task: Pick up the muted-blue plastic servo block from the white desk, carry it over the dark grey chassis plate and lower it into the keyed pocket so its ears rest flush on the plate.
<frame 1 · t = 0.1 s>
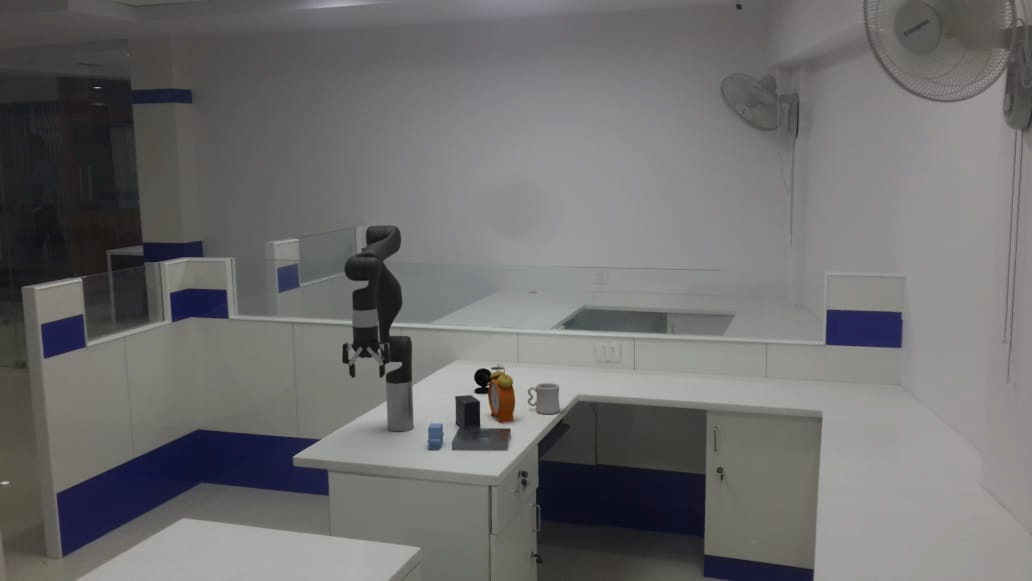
hand: (367, 377, 259), 29 cm above the table, fingers open, 8 cm apart
black desk fan: (483, 392, 357), on the table
servo: (435, 446, 286), on the table
alarm clock: (501, 418, 317), on the table
mug: (543, 411, 326), on the table
chassis plate: (482, 442, 289), on the table
small box: (468, 427, 307), on the table
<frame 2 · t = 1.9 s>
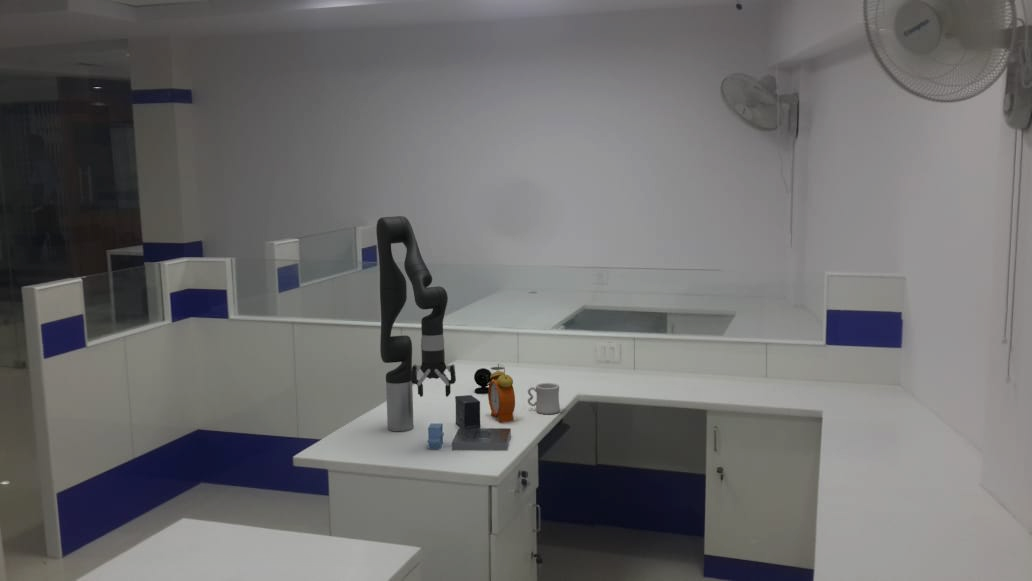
hand: (434, 396, 284), 17 cm above the table, fingers open, 8 cm apart
nothing on the table moved.
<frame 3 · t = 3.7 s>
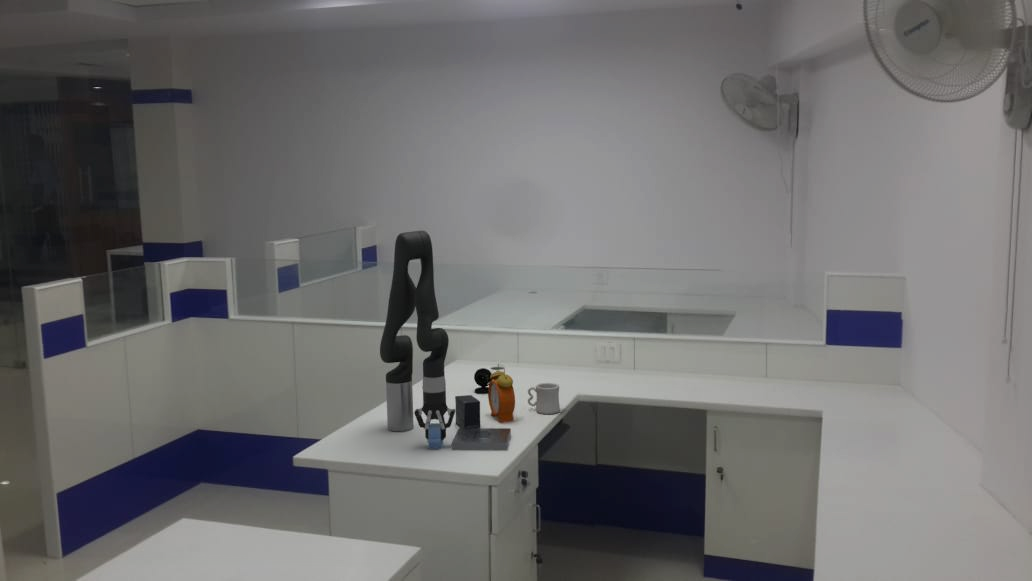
hand: (435, 439, 286), 2 cm above the table, fingers closed on servo, 4 cm apart
servo: (436, 445, 286), on the table, touching gripper
everything else where it was.
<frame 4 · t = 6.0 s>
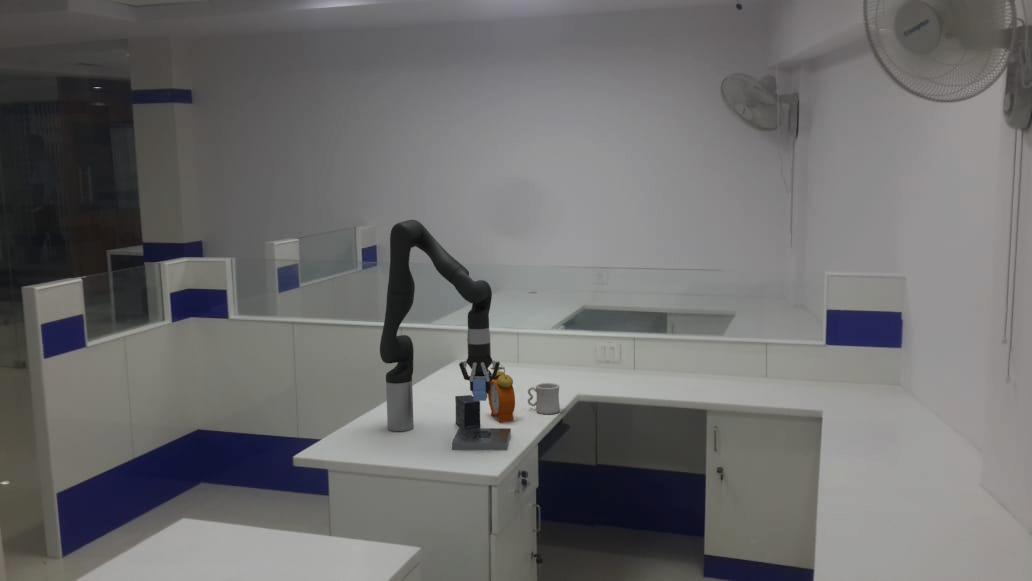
hand: (480, 391, 286), 18 cm above the table, fingers closed on servo, 4 cm apart
servo: (480, 398, 286), point 15 cm above the table, touching gripper
everything else where it was.
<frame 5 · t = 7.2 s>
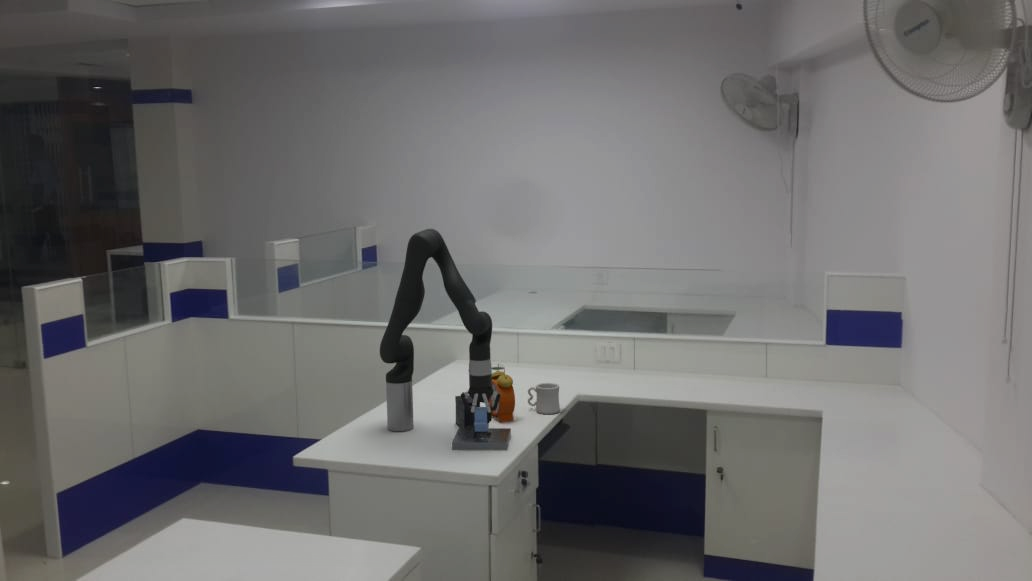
hand: (481, 422, 288), 7 cm above the table, fingers closed on servo, 4 cm apart
servo: (481, 429, 288), point 5 cm above the table, touching gripper
everything else where it was.
when the fingers open (4 cm above the table, at t = 8.2 s): servo drops 1 cm, resting on chassis plate.
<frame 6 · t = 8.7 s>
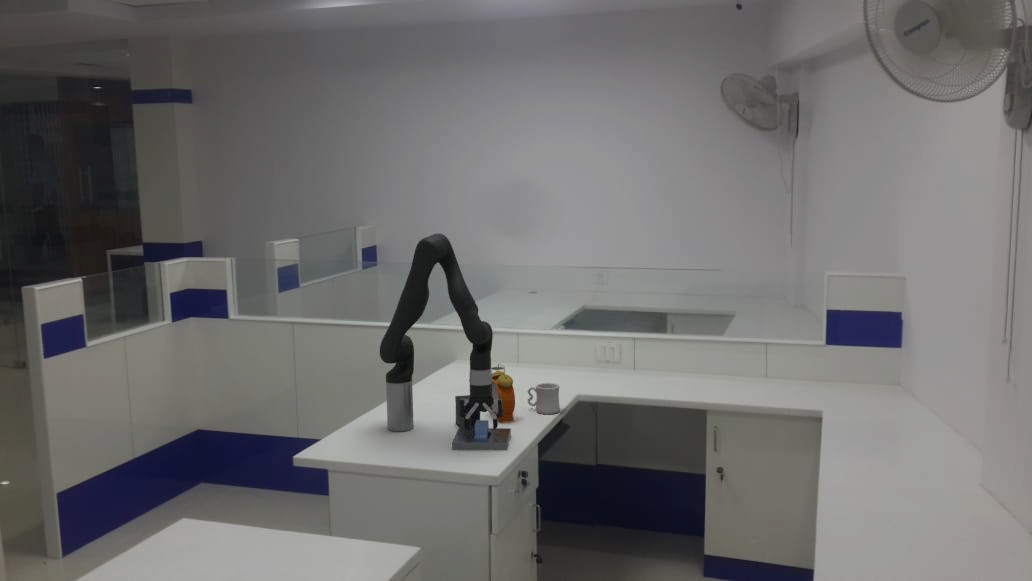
hand: (481, 429, 288), 5 cm above the table, fingers open, 8 cm apart
servo: (482, 442, 289), resting on chassis plate
everything else where it was.
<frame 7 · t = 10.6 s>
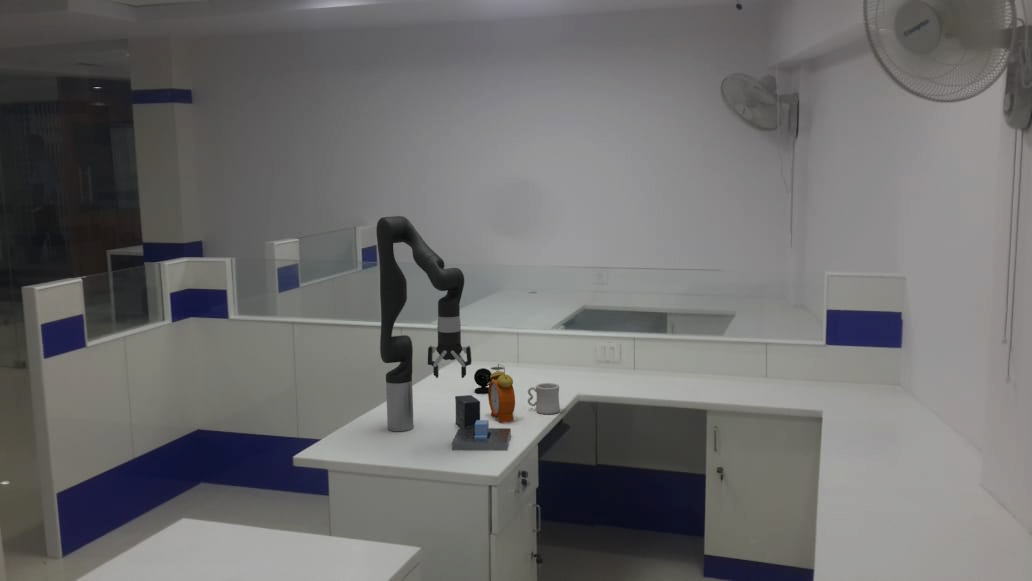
hand: (449, 377, 284), 23 cm above the table, fingers open, 8 cm apart
nothing on the table moved.
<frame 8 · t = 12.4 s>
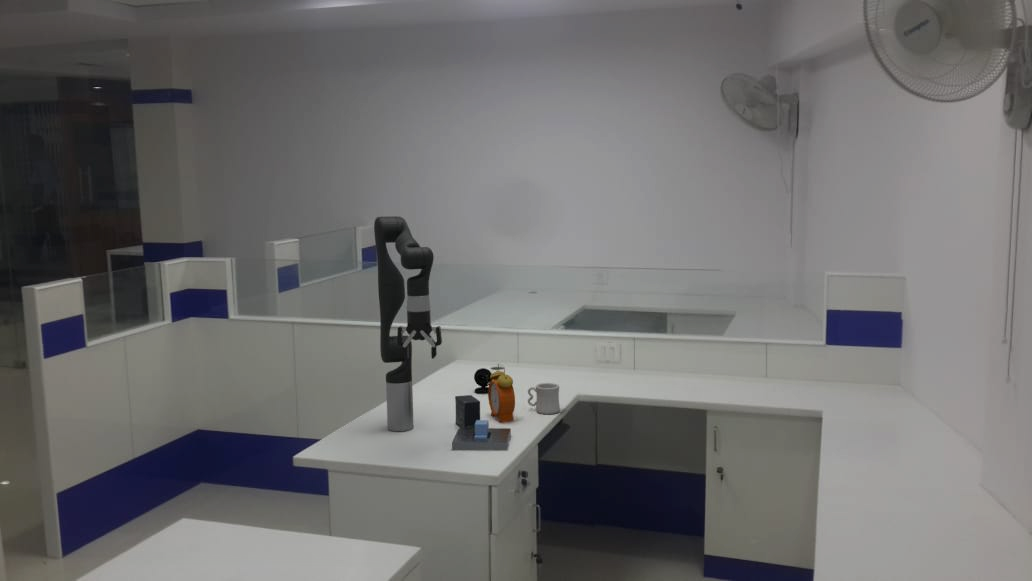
hand: (420, 358, 281), 30 cm above the table, fingers open, 8 cm apart
nothing on the table moved.
at the end: servo 0.1 cm off-centre on the chassis plate, point 0.0 cm above the chassis plate's base; servo tilted 0°; the gripper is holding nothing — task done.
